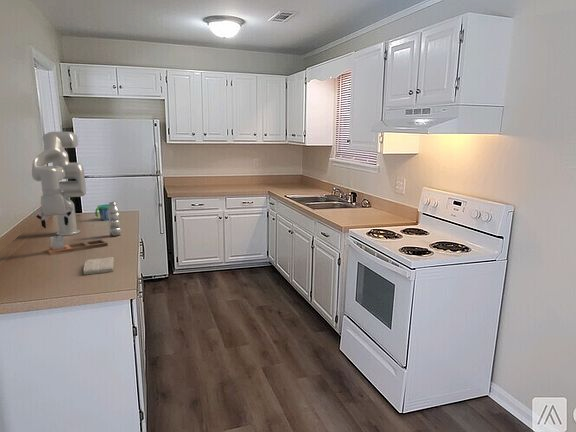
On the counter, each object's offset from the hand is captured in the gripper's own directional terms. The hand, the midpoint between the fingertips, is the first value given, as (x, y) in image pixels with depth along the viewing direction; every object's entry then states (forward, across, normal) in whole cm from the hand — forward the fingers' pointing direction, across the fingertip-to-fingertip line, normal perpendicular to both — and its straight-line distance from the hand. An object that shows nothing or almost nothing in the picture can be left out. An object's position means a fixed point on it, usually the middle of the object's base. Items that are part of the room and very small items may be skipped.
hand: (55, 226), depth 204 cm
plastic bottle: (+14, -33, -15) cm, 39 cm away
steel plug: (+13, 0, +1) cm, 13 cm away
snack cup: (+15, -44, -71) cm, 85 cm away
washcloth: (+13, -8, +44) cm, 46 cm away
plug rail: (+13, -9, +1) cm, 16 cm away
